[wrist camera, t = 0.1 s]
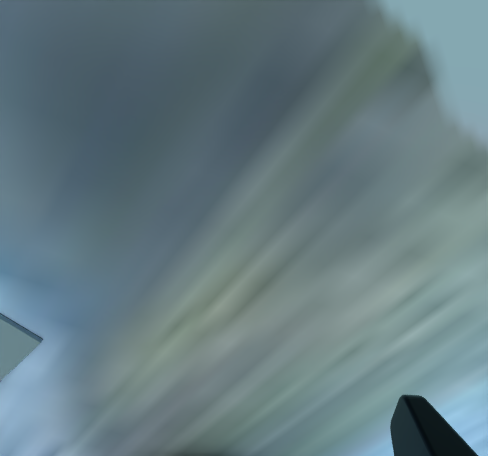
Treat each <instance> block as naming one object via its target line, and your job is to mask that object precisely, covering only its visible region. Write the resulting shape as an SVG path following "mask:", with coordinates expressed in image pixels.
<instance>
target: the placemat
mask: <svg viewBox="0 0 488 456" xmlns="http://www.w3.org/2000/svg"><path fill="white" fill-rule="evenodd" d="M42 340H43V339H41V338H39V337H38V336H36V335H35V334H33V333H31V332H30V331H28V330H26V329H25V328H23V327H21V326H20V325H18V324H16V323H15V322H13V321H11V320H10V319H8V318H6V317H5V316H3V315H1V314H0V381H1V380H2V379H3V378H4V377H6V376H7V375H8V374H9V373H10V372H11V371H12V370H13V369H14V368H15V367H16V366H17V365H18V364H19V363H20V362H21V361H22V360H23V359H24V358H25V357H27V356H28V355H29V354H30V353H31V352H32V351H33V350H34V349H35V348H36V347H37V346H38V345H39V344H40V343H41V342H42Z"/></svg>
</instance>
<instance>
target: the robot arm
mask: <svg viewBox="0 0 488 456" xmlns="http://www.w3.org/2000/svg"><path fill="white" fill-rule="evenodd" d="M390 429H391V438H392V444H393V450H394V456H478V455H477V454H476V453H475V452H474V451H473V450H472V449H471V447H470V446H469V445H468V444H467V443H466V442H465V441H464V440H463V439H462V438H461V437H460V436H459V434H458V433H457V432H456V431H455V430H454V429H453V428H452V427H451V426H450V425H449V424H448V423H447V422H446V420H445V419H444V418H443V417H442V416H441V415H440V414H439V413H438V412H437V411H436V410H435V409H434V407H433V406H432V405H431V404H430V403H429V402H428V401H427V400H426V399H425V398H424V397H422V396H419V395H402V396H401V397H400V398H399V401H398V403H397V406H396V409H395V411H394V414H393V417H392V420H391V426H390Z"/></svg>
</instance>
